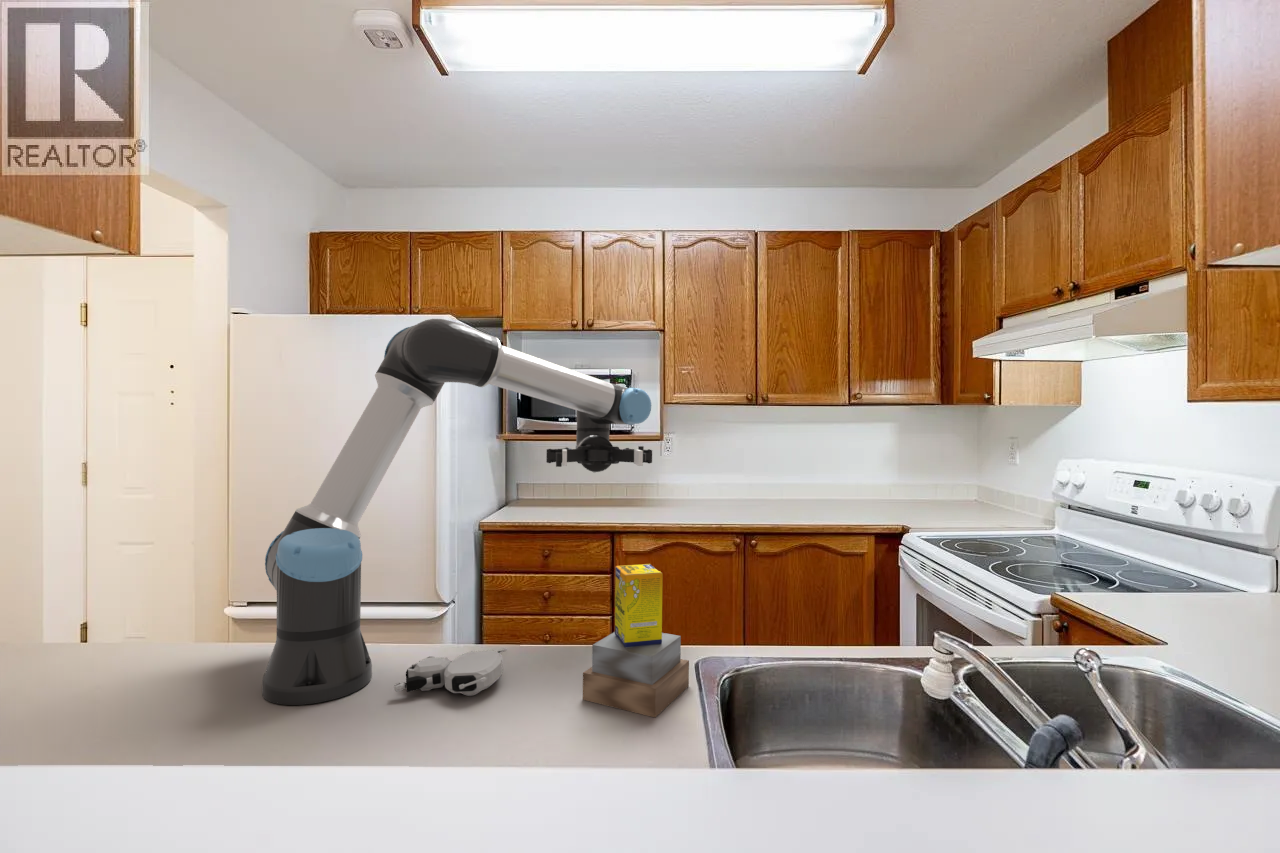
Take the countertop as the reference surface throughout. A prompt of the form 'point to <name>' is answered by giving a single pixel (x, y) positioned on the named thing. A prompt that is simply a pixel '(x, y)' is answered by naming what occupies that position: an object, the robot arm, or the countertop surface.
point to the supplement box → (638, 605)
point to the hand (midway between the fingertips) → (603, 458)
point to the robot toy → (455, 673)
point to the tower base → (636, 691)
